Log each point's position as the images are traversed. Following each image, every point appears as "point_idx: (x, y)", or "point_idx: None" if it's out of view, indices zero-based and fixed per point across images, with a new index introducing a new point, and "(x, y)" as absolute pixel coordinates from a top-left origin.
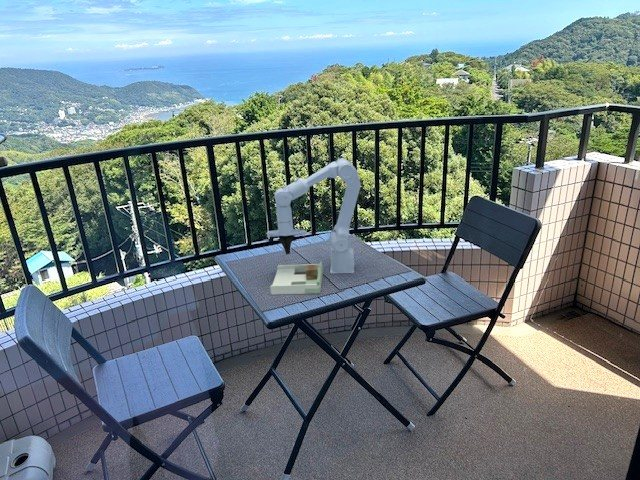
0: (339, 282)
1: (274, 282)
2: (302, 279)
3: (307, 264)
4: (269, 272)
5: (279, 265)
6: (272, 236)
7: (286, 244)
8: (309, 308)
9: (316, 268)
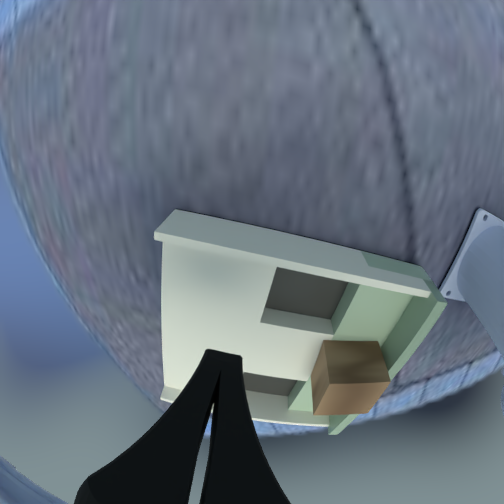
0: (422, 354)
1: (168, 355)
2: (295, 368)
3: (367, 281)
4: (125, 179)
5: (167, 240)
6: (27, 479)
7: (196, 457)
8: (281, 431)
9: (367, 407)
